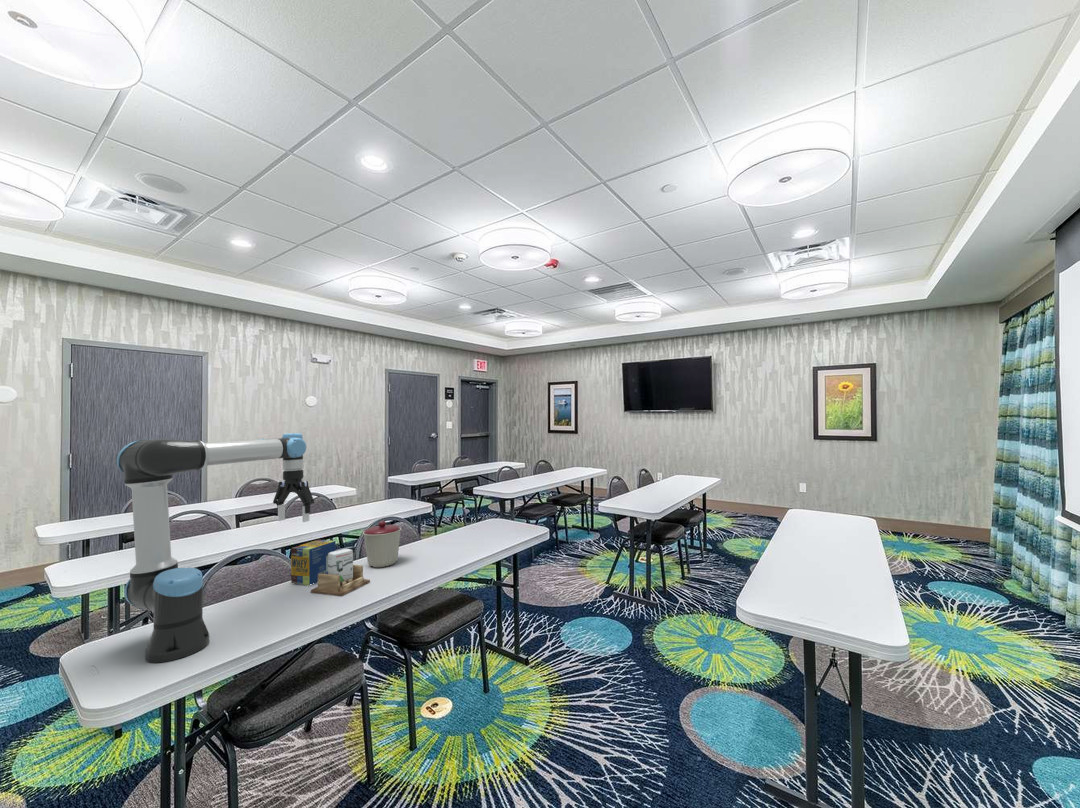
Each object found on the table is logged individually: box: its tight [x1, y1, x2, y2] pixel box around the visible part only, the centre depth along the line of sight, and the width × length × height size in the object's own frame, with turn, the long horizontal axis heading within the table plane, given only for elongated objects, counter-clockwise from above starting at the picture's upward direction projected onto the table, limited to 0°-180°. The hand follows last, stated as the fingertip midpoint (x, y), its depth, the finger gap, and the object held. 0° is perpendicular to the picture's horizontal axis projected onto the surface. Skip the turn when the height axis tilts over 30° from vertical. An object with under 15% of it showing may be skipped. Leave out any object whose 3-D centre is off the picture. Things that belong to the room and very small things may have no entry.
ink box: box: [328, 548, 354, 582], centre depth 184 cm, size 9×5×12 cm, turn 143°
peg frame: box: [310, 564, 371, 597], centre depth 184 cm, size 16×16×7 cm
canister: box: [362, 520, 402, 568], centre depth 215 cm, size 18×18×21 cm
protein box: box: [290, 539, 337, 586], centre depth 197 cm, size 10×15×16 cm
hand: (293, 521), depth 184 cm, fingers open, 13 cm apart
